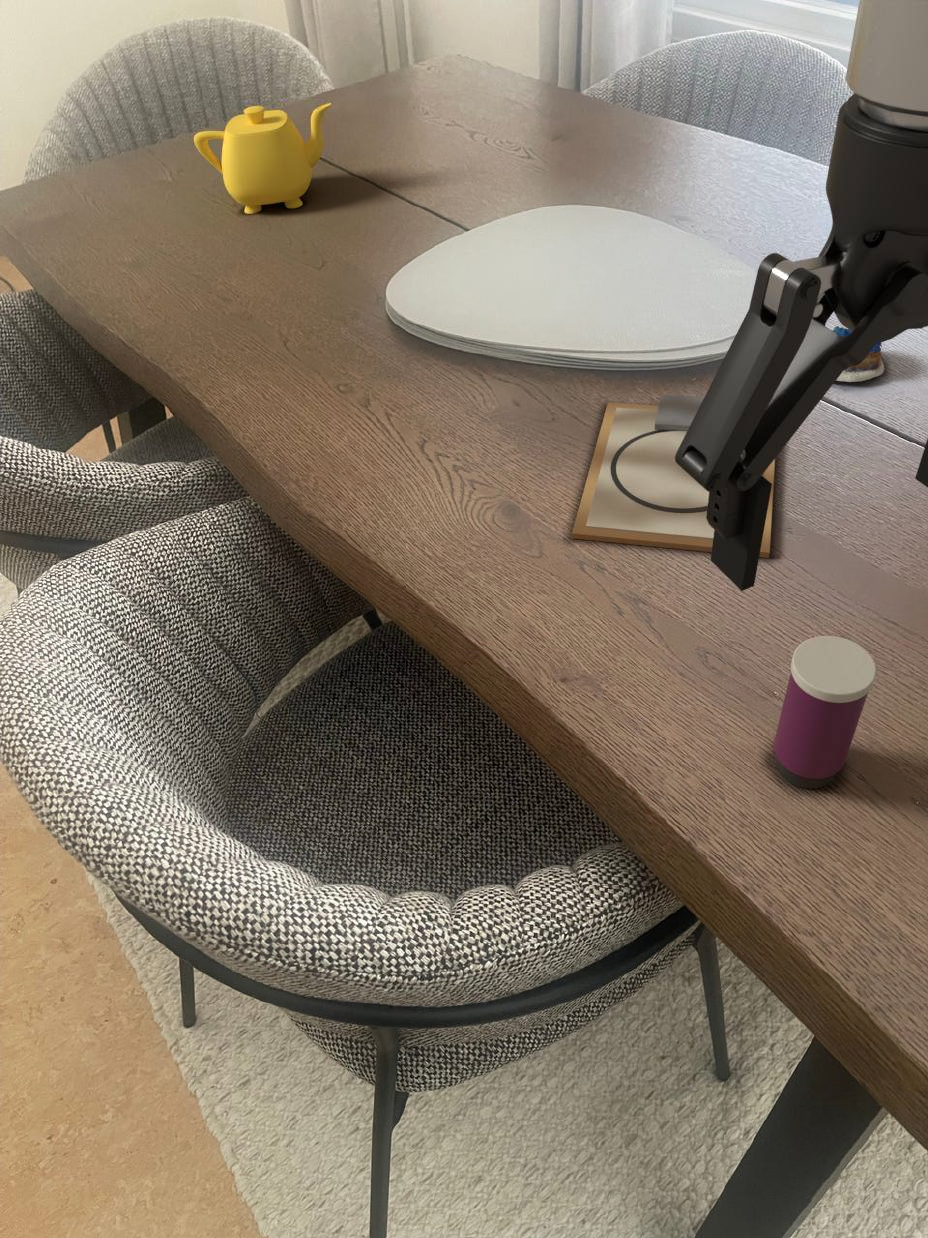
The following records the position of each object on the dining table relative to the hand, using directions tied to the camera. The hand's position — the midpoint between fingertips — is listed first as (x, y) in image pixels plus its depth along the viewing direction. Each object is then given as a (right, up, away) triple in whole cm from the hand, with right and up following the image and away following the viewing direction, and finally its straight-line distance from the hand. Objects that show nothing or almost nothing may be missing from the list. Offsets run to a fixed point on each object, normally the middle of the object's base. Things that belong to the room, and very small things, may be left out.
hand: (838, 530), depth 50 cm
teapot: (-47, +57, +88) cm, 115 cm away
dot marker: (+2, -14, +11) cm, 18 cm away
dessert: (+18, +20, +44) cm, 51 cm away
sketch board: (-1, +8, +34) cm, 35 cm away
